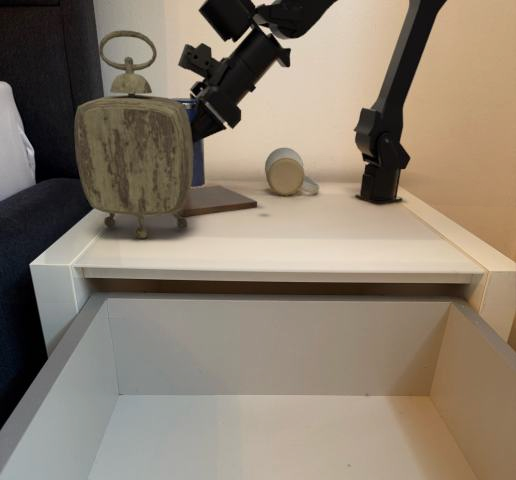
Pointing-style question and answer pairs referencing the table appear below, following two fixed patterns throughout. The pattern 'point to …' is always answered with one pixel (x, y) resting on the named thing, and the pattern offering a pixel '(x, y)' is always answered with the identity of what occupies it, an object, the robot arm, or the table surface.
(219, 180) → the table surface
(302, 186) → the ceramic mug
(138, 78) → the tabletop clock
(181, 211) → the desk pad
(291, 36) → the robot arm
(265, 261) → the table surface
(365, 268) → the table surface
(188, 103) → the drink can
